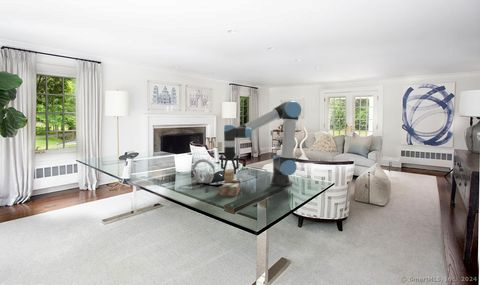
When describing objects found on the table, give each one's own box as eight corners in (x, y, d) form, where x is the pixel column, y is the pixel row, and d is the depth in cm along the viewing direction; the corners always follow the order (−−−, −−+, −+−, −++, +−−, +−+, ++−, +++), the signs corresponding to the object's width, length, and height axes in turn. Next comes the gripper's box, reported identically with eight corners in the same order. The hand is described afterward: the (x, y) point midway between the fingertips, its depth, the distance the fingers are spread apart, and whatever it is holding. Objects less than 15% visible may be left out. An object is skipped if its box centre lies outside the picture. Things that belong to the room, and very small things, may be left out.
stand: (240, 188, 200) (240, 180, 199) (236, 195, 180) (236, 187, 180) (225, 187, 202) (224, 180, 201) (219, 195, 182) (218, 186, 181)
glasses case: (235, 177, 197) (234, 169, 196) (231, 181, 183) (231, 173, 182) (228, 176, 197) (228, 169, 197) (224, 181, 183) (224, 172, 183)
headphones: (216, 182, 220) (216, 158, 218) (213, 185, 210) (212, 160, 208) (195, 181, 223) (195, 158, 221) (191, 184, 213) (190, 159, 211)
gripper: (242, 146, 190) (243, 177, 192) (218, 145, 193) (218, 177, 195) (241, 147, 183) (241, 180, 185) (215, 146, 186) (216, 179, 188)
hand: (229, 178), depth 190 cm, fingers closed on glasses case, 5 cm apart
